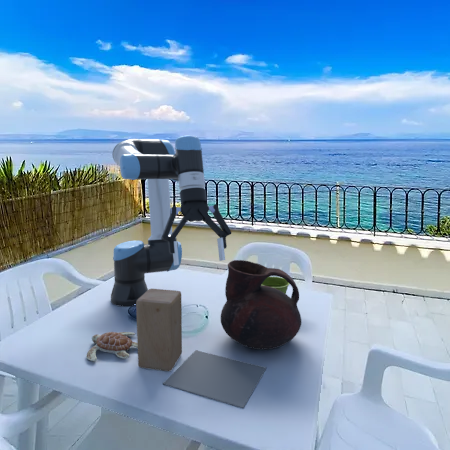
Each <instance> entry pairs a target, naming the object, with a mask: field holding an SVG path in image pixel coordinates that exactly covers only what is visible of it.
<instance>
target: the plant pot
mask: <svg viewBox="0 0 450 450" xmlns="http://www.w3.org/2000/svg"><path fill="white" fill-rule="evenodd" d="M261 285H263V286H269V287H273V288H276V289H278V290H280V291H282V292H283V293H285V294H286V295H287V290H288V287H289V286H290V284H289V283H288V282H287V281H286V280H285V279H284V278H282V277H279V276H270V277H267V278H266V279H265V280H264V282H263V283H262V284H261Z"/></svg>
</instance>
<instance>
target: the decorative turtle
mask: <svg viewBox="0 0 450 450" xmlns="http://www.w3.org/2000/svg"><path fill="white" fill-rule="evenodd" d="M135 335H136V333H135V332H133V331H132V332H130V331H120V332H117V331H116V332H114V331H107V332H105V333H103V334H94V335H92V336H91V341H92V342H93V343H94V344H95V345H93V346H92V347H91V348H90V349H89V350H88V351H87V352H86V355H85V357H86V359H87V360H89V361H91V362H96V361H97V360H98V357H97V355H96V354H97V351H98V350H99V351H101V352H104V353H109V354H114V355H116V357H118V358H121V359H126V358H129V356H130V354H129V353H128V352H127V351H130V348H131V347H134V348H136V349H138V343H137V341H132V339H131V338H130V337H128V336H135Z"/></svg>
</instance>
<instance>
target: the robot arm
mask: <svg viewBox="0 0 450 450" xmlns="http://www.w3.org/2000/svg"><path fill="white" fill-rule="evenodd" d="M202 150H203V148H202V145H201V139H200V138H199V136H195V135H182V136H179V137H177V138H176V139H175V141H174V146H173V144H172V143H171V141H170V140H167V139H160V138H158V139H157V138H156V139H154V138H153V139H152V138H151V139H150V138H130V139H126V140H123V141H120V142H118V143H117V144H116V145H115V146H114V147H113V150H112V158H113V161H114V162H115V164H116V165H117V166H118V167H119V168H120V176H121V178H122V179H124V180H132V181H135V180H136V181H137V180H147V190H148V191H147V193H148V205H149V208H148V209H149V220H150V234H151V235H150V236H149V237H148V239H147V243H144V242H143V241H142V240H128V241H124V242H121V243H119V244H117V245H115V246H114V249H113V257H112V258H113V259H112V260H113V273H114V275H113V276H114V283H113V285H112V286H113V287H112V290H111V293H110V302H111V304H112V305H115V306H117V307H123V308H124V307H125V308H127V307H133V306H132V305H134V304H136V302H137V299H139V298H140V297H141V296H142V295H143V294H144V293H145V292H147V291H148V290H149V289H148V286H147V283H146V280H145V274H151V273H163V272H170V271H175V270H178V269H179V267H180V266H181V264H182V263H181V262H182V260H183V259H182V258H183V247H182V243H181V242H180V241H178V239H177V237H178V235H179V234H180V232H181V230H182V229H183V227H184V226H185V224H186V223H188V222H189V223H191V222H192V223H193V222H201V221H203V223H205V224H206V225H207V226H208V227H209V228H210V229H211V230H212V231H213V232H214V233H215V235H217V236H218V238H216V239H217V240H216V241H217V249H218V260H219V262H221V261H226V256H225V249H227V237H228V236H230V235H231V234H232V230H231V229H230V227H229V225H228V224H227V222H226V220H225V219H224V217H223V216H222V214H221V212H220V209H219V206H218V204H212V205H208V200H207V190H206V188H205V187H206V182H205V173H204V172H205V171H204V162H203V161H204V160H203V151H202ZM170 180H171V181H172V182H175V183H176V182H177V183H178V188H179V196H180V197H179V199H180V207H179V206H175V205H173V206H171V197H170V195H171V194H170ZM209 212H210V213H212V215H213V217H214V218H215V221H216V222H217V223H216V222H215V221H214V220H213V219H212V218H211V216H210V215H209V214H208V213H209ZM179 213H181V215H182V216H183V217H182V218H181V220H180V221H179V223H178V224H177V225H176V227H175V229H174V230H173V224H174V222H175V220H176V216H177V215H178V214H179Z"/></svg>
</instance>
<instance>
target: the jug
mask: <svg viewBox="0 0 450 450" xmlns="http://www.w3.org/2000/svg"><path fill="white" fill-rule="evenodd" d="M227 268H228V271H227V272H228V273H227V278H226V282H225V289H224V291H225V299H226V302H225V303H224V305H223V306H222V310H221V312H220V313H221V314H220V324H221V327H222V329H223V330H224V332H225V334H226V335H227V336H228V337H229V338H231V339H232V340H233V341H234V342H236V343H237V344H240V345H242V346H244V347H247V348H250V349H254V350H271V349H275V348H279V347H282V346H284V345H286V344H287V343H289V342H291V341H292V340H293V339H294V338H295V337H296V336H297V335H298V333H299V331H300V329H301V327H302V326H301V325H302V316H301V312H300V309H299V307H298V302H299V300H300V291H299V288H298V286H297V284H296V282H295V280H294V279H293V278H292V277H291V275H289V274H288V273H287V272H285V271H284V270H282V269H280V268H275V267H274V268H272V267H267V266H264V265H262V264H259V263H257V262H253V261H248V260H244V259H243V260H242V259H234V260H231V261H230V262H228V263H227ZM267 277H281V278H284V279H285V280H286V281H287V282H288V283H289V286H291V288H292V293H291V296H289V295H288V294H287V293H286V294H285V293H283V292H282V291H280V290H278V289H276V288H273V287H269V286H263V285H261V284H262V283H263V282H264V280H265V279H266V278H267Z"/></svg>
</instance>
